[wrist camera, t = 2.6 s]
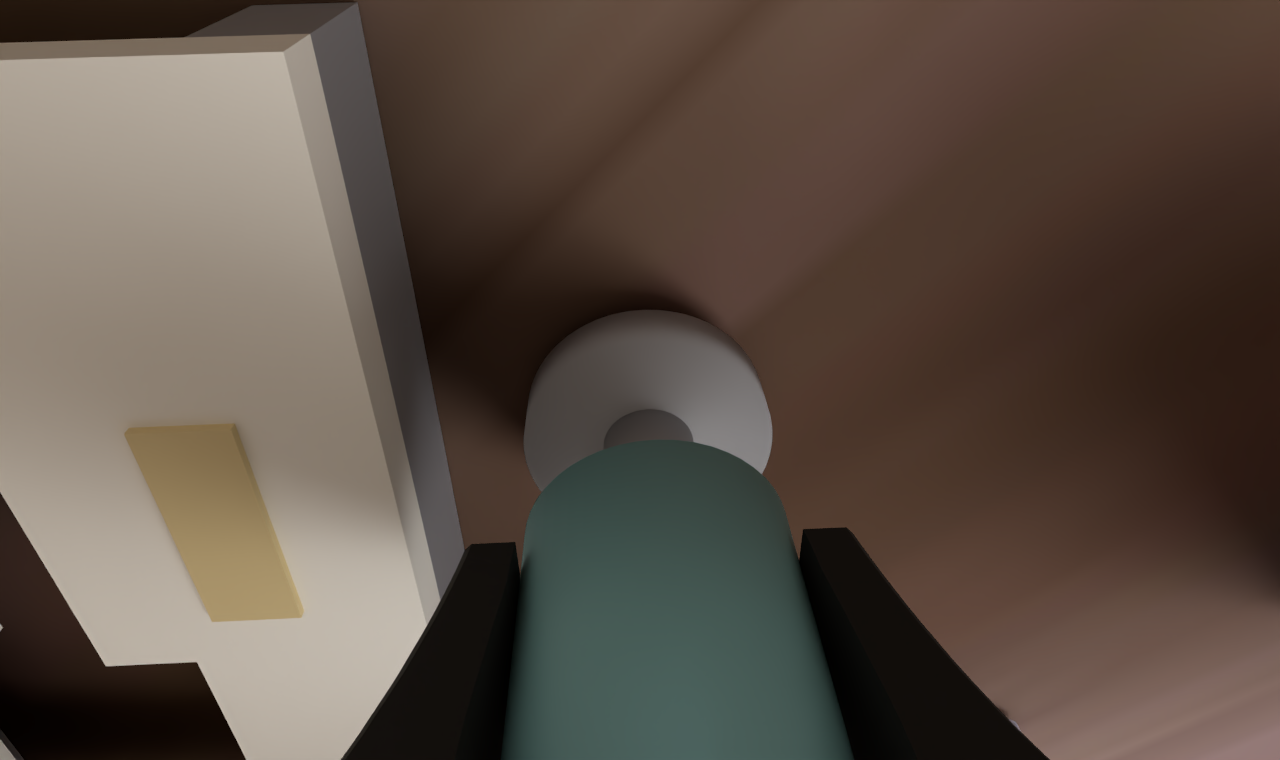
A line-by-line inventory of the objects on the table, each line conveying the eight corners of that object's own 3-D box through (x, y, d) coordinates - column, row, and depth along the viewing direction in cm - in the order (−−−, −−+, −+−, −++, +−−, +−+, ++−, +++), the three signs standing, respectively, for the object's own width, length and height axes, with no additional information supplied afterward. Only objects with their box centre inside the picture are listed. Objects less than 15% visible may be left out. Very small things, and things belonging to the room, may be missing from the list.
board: (509, 777, 23) (496, 913, 20) (1, 805, 22) (-86, 946, 20) (357, 2, 12) (278, 54, 9) (-652, 31, 11) (-1078, 94, 8)
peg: (755, 496, 16) (899, 1091, 9) (538, 505, 16) (483, 1115, 8) (770, 304, 14) (988, 888, 6) (516, 314, 14) (409, 920, 6)
